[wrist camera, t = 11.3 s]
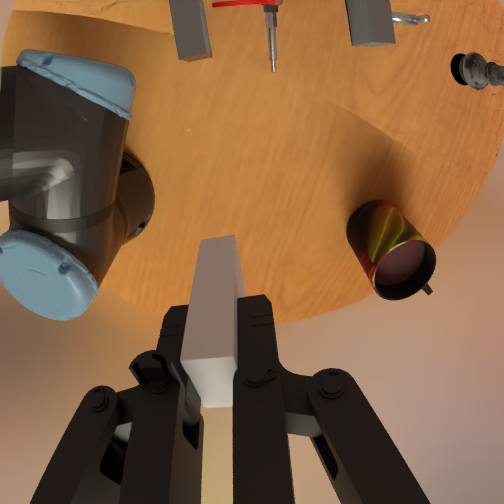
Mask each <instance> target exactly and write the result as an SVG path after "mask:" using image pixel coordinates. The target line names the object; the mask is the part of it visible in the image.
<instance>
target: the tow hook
mask: <svg viewBox="0 0 504 504" xmlns="http://www.w3.org/2000/svg"><path fill="white" fill-rule="evenodd" d="M250 4H261V5H263V7H264V12H265V15H266V27H267V28H268V42H269V60H271V72H276V60H277V47H276V27H277V17H276V12H278V5H281V4H282V0H237V1H226V2H217V3H212V7H224V6H235V5H250Z"/></svg>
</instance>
